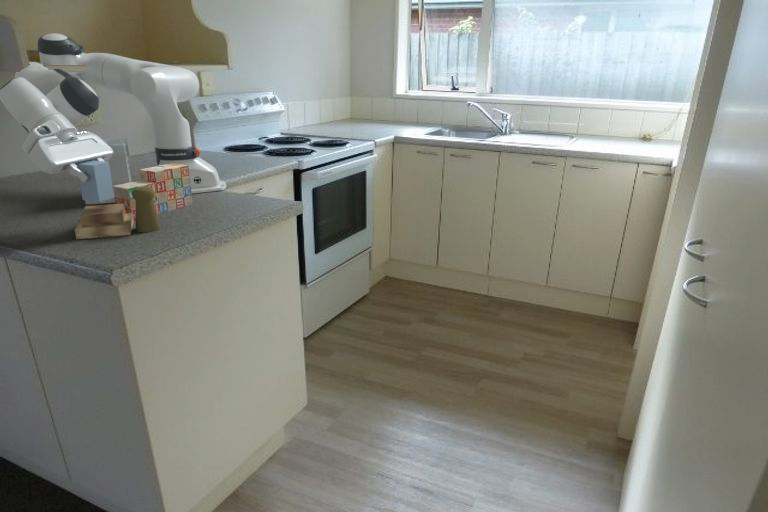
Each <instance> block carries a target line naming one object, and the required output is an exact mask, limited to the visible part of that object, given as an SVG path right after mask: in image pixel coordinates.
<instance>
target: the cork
mask: <svg viewBox="0 0 768 512" xmlns="http://www.w3.org/2000/svg"><path fill="white" fill-rule="evenodd" d="M132 196H133V199H134V200H135V201H136V221H135V231H136V232H138V233H151V232H152V233H153V232H156V231H158V230H160V229H161V228H162V226H161V222H160V220H159V216H158V215H159V214H158V215H157V212H156V208H155V205H154V201H153V198H154V196H155V193H154V190H153V189H152V188H151V187H137V188H135V189H133V191H132Z"/></svg>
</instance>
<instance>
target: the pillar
mask: <svg viewBox="0 0 768 512" xmlns="http://www.w3.org/2000/svg"><path fill="white" fill-rule="evenodd" d="M76 166H77V168H78V169H79V170H81V171H82V172H87V173H88V175H90V177H91V178H90V179H89V181H87V182H82V181H81V180H80V179H79V178H78V181H79V187H80V193H81V198H82V201H85V200H87V201H97V202H101V201H104V200H107V199H110V198H113V197H114V192H113V186H112V180H111V173H110V167H109V162H104V161H93V160H91V161H87V162H82V163H78V164H76Z"/></svg>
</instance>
